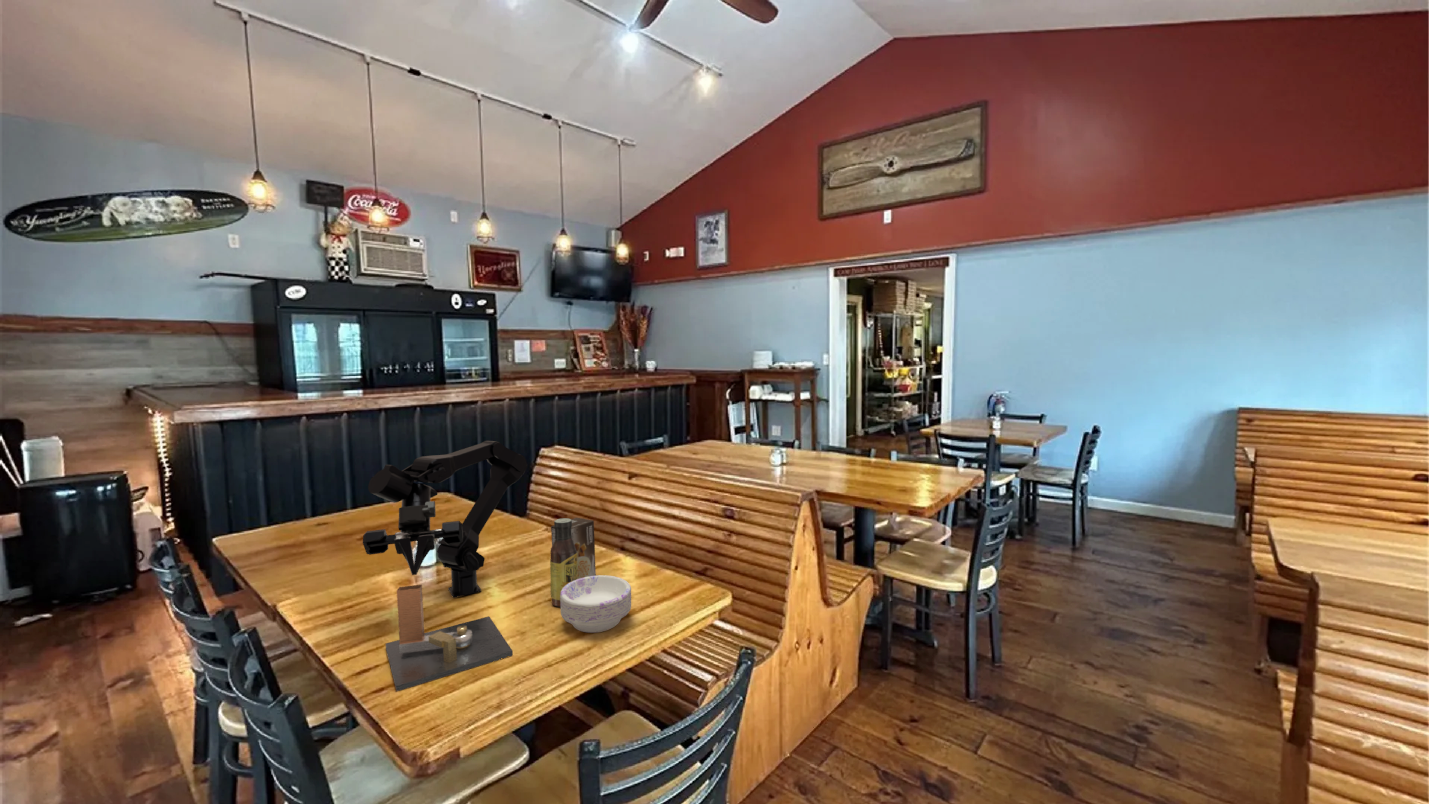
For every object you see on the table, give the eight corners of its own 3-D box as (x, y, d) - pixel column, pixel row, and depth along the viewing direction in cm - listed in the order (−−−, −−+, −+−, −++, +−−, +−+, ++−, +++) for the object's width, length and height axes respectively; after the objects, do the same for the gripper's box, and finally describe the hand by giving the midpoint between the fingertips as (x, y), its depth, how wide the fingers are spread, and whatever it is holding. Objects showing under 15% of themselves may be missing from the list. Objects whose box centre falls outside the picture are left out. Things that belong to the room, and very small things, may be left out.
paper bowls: (618, 643, 115) (617, 605, 115) (548, 637, 118) (547, 600, 117) (640, 609, 130) (640, 576, 129) (578, 605, 133) (577, 572, 132)
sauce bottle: (571, 609, 130) (568, 525, 129) (546, 607, 132) (543, 524, 130) (583, 597, 137) (580, 517, 135) (559, 595, 138) (556, 516, 136)
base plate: (385, 648, 114) (385, 643, 114) (489, 620, 125) (489, 616, 125) (396, 691, 99) (396, 686, 99) (512, 655, 111) (512, 650, 110)
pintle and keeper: (471, 645, 114) (470, 621, 114) (465, 665, 107) (464, 640, 107) (434, 650, 113) (432, 626, 112) (425, 671, 105) (424, 645, 105)
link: (473, 636, 115) (470, 577, 114) (470, 645, 111) (468, 584, 110) (403, 645, 111) (400, 585, 110) (398, 655, 108) (395, 592, 107)
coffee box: (578, 575, 151) (577, 516, 149) (596, 580, 147) (595, 520, 146) (552, 587, 143) (550, 525, 141) (570, 593, 139) (568, 529, 138)
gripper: (361, 493, 117) (354, 563, 108) (460, 485, 124) (461, 549, 115) (369, 520, 125) (364, 588, 115) (462, 510, 132) (463, 573, 123)
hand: (414, 574), depth 117 cm, fingers closed
